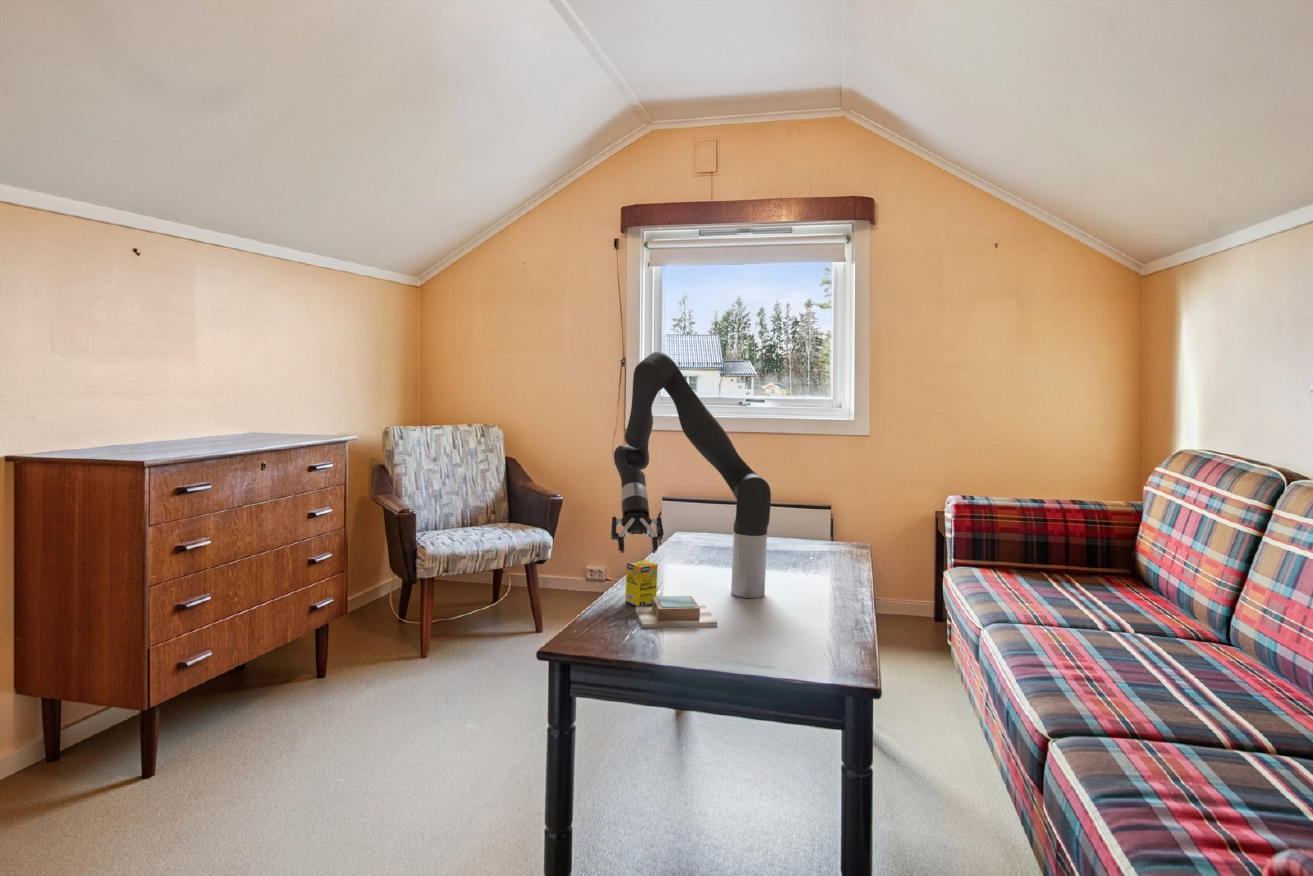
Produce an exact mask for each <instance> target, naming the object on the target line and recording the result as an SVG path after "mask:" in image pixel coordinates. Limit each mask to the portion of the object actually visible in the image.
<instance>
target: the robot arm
mask: <svg viewBox="0 0 1313 876" xmlns="http://www.w3.org/2000/svg"><path fill="white" fill-rule="evenodd" d="M662 389H664V390H665V391H666V392H667V394H668V395H669V397H670V398H671V399H672V401H673V403H674V406H675V408H676V412H677V417H678V420H679V423H680V426H681V429H682V432H683V434H684V435H685V436H686V438H687V439H688V441H689V442H690V444H692V446H693V447H694V448H695V449H696V450H697V451H698V452H699V453H700V455H701V456H702V457H703V458H704V459H705V460H706V461H707V462H708V463H709V464H710V465H711V466H713V467H714V469H716V470H717V471H718V473H719V475H721V478H723V480H724V481H725V483H726V484H727V486H728V488H729V489H730V491H731V492H732V494H733V496H734V498H735V499H736V509H735V510H736V511H735V519H734V522H733V534H732V535H733V539H732V540H733V541H732V562H731V563H732V566H731V570H732V571H731V584H730V585H731V587H730V588H731V590H730V592H731V593H730V594H732V595H733V596H735V597H739V598H744V599H757V598H758V599H759V598H762V597H764V596H765V592H766V591H765V590H766V570H767V566H766V565H767V546H768V545H767V544H768V543H767V542H768V541H767V540H768V537H767V536H768V528H769V524H770V520H771V519H770V517H771V516H770V515H771V502H772V501H771V499H772V498H771V497H772V490H771V486H770V484H769V483H768V482H767V481H766V480H765V479H764V478H762V477H761V476H760V475H758V474H757V473H756V472H755V471H754V470H753V469H752V468H751V467H750V466H749V465H748V464H747V463H746V462H745V460H743V458H742V457H741V456H740V455H739V453H738V452H737V449H736V448H735V446H734V444H733V443H732V440H731V439H730V437H729V435H728V434H727V432H726V431H725V430H724V428H723V427H722V425H721V424H720V423H719V421H718V420H717V419H716V418H715V417H714V415H713V414H712V413H711V412H710V410H709V409H708V408H707V407H706V405H705V404H704V402H702V400H701V399H700V397H699V396H698V395H697V394H696V392H695V391H694V389H692V387H691V385H690V384H689V382H688V381H687V380H686V378H685V376H684V374H683V373H682V372H681V370H680V368H679V367H678V365H677V364H676V362H675V361H674V360H673V359H672V358H671V357H670V356H669V355H668V354H667V353H665V352H663V351H654V352H652V353H651V354H648V356H647V357H645V358H643V360H642V361H640V362H639V363H638V364H637V365H636V367H635V369H634V370H633V377H632V395H631V408H630V415H629V418H628V422H627V426H626V430H625V434H624V440H625V443H626V445H625V444H621V445H618V446H617V447H616V449H615V450H614V452H613V461H614V464H615V467H616V469H617V472H618V474H619V477H620V479H621V481H620V483H621V496H620V497H621V498H620V499H621V501H620V503H621V510H622V511H621V513H622V514H621V515H622V517H621V518H617V517H616V516H613V517H612V518H611V527H610V528H611V529H610V531H611V532H610V539H611V540H613V541H614V540H616V541H617V547H618V549H617V550H618V551H619V552H620V554H624V553H625V540H624V539H625V538H627V536H628V535H629V534H630V535H645V536H646V538H649V540H651V552H652V554H655V553H656V552H657V551H658V548H659V544H658V543H659V542H658V541H662V540H663V539H664V538H663V537H664V527H663V522H662V517H660V516H658V517H656V518H653V519H652V518H651V517H650V505H649V495H648V491H647V483H646V475H645V473H644V471H643V470H645V469H646V468H647V467H648V466H649V464H650V454H649V453H650V451H649V441H650V437H651V433H652V430H653V426H654V425H653V424H654V417H653V415H654V414H653V408H652V407H653V404H654V401H655V399H656V397H657V395H658V393H659V392H660V391H661V390H662ZM620 525H621V526H622V529H621V531H620V532H619V533H617V528H618V527H619V526H620ZM651 525H653V527H654V528H656V532H655V531H654V529H653V528H652V526H651Z"/></svg>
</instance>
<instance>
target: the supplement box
mask: <svg viewBox="0 0 1313 876" xmlns="http://www.w3.org/2000/svg"><path fill="white" fill-rule="evenodd" d="M625 573H626V575H625V577H626V578H625V599H624V600H625V604H626V605H628V606H631V607H633V608H635V609H636V607H649V606H652V597H657V589H658V587H657V586H658V564H657V563H655V562H651V561H649V560H645V559H642V560H638V561H631V562H629V561H628V562H626V572H625Z"/></svg>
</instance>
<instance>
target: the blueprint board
mask: <svg viewBox="0 0 1313 876" xmlns="http://www.w3.org/2000/svg"><path fill="white" fill-rule="evenodd" d="M635 613H636V616H637V617H638V620H639V623H640V626H641V628H642V629H652V628H653V629H655V628H656V629H657V628H659V629H661V628H662V629H663V628H701V627H702V628H704V627H707V628H708V627H710V628H711V627H713V628H714V627H718V621H717V620H716V619H715V617H714V616H713V614H712V612H710V610H709V609H708V607H707V606H706V605H698V603H697V602H696V601H695V599H694V598H693V595H677V596H676V595H674V596H673V595H671V596H669V595H667V596H662V595H661V596H656V597H652V606H649V607H636V608H635Z"/></svg>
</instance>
